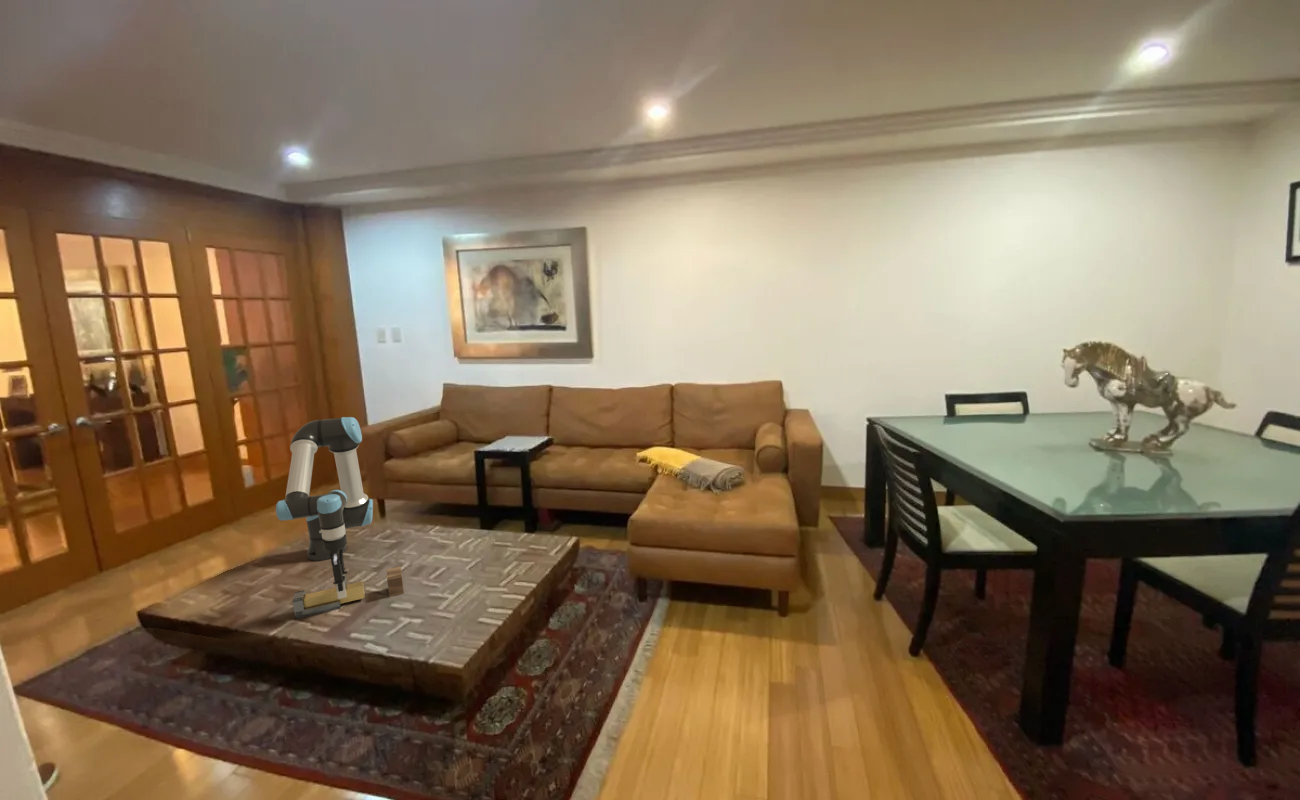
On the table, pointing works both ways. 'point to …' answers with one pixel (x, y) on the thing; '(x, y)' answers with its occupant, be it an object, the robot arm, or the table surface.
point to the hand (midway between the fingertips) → (342, 594)
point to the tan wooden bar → (334, 595)
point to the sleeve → (303, 612)
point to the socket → (395, 581)
